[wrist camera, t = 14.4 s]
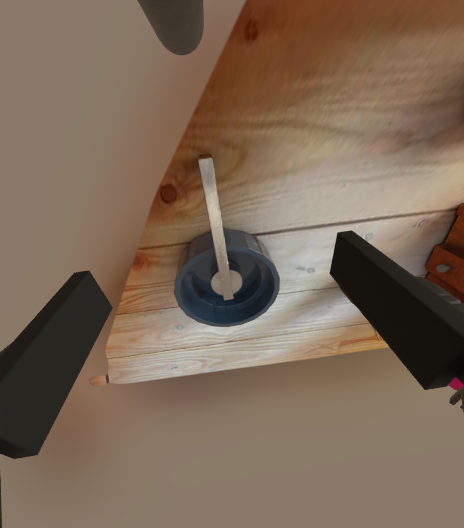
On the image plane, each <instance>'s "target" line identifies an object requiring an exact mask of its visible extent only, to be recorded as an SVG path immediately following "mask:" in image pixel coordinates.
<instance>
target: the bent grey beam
mask: <svg viewBox="0 0 464 528" xmlns="http://www.w3.org/2000/svg"><path fill="white" fill-rule="evenodd" d="M198 163H199V168H200V174H201V179H202V184H203V190H204V195H205V200H206V206H207V211H208V217H209V222H210V227H211V233H212V238H213V244H214V249H215V254H216V260H217V263H216V264H215V265H214V266H213V267H212V269H211V287H212V289H213V290H214V291H215V292H216V293H218V294H220V295H223V297H224V300H230V299H234V297H233V294H234V293H236V292H237V291H239V289H240V288H241V286H242V276H241V272H240V268H239V266H238V265H237V264H236V263H234V262H232V261H229V260H228V257H227V251H226V244H225V238H224V231H223V225H222V218H221V212H220V205H219V198H218V192H217V185H216V179H215V172H214V166H213V159H212V154H204V155H200V157H199V159H198Z"/></svg>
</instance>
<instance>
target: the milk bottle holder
mask: <svg viewBox="0 0 464 528" xmlns="http://www.w3.org/2000/svg"><path fill="white" fill-rule="evenodd" d="M456 214H458V215H459V216H458V218H457V220H456V222H455V224H454V226H453V227H452V229H451V231H450V233H449V235H448V237H447V239H446V241H445V243H444V244H443V245H437V246H436V247H435V249H434V251H433V253H432V255H431V257H430V259H429V261H428V263H427V265H426V267H425V268H426V269H427V270H429V271H430V272H429V274H428V276H427V278H426V280H429V281H431V282H433V283H435V284H437V285H439V286H440V287H441V288H443V289H444V290H446V291H447V292H449V294H450V295H453V296H454V297H456V298H457V299H459V300H460V301H461V303H464V204H462V205H460V207H459V209H458V211H457V213H456Z"/></svg>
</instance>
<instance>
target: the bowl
mask: <svg viewBox="0 0 464 528" xmlns="http://www.w3.org/2000/svg"><path fill="white" fill-rule="evenodd" d="M223 231H224V238H225V244H226V251H227V257H228V260H229V261H232V262H234V263H236V264H237V265H238V266H239V268H240V272H241V276H242V286H241V288H240V289H239V291H237V292H236V293H234V294H233V297H234V299H230V300H224V297H223V295H220V294H218V293H216V292H215V291H214V290H213V289H212V287H211V269H212V267H213V266H214V265H215V264H216V263H217V260H216V254H215V249H214V244H213V238H212V233H211V232H209V233H206V234H204V235H202V236H200V237H198V238H196V239H195V240H194V241H193V242H192V243H191V244H190V245H189V246H187V247H186V248H185V250H184V252H183V254H182V256H181V258H180V260H179V264H178V269H177V274H176V279H175V291H174V294H175V297H176V300H177V302H178V305H179V307H180V308H181V309H182V310H183V311H184V312H185V314H186V315H187V316H189V317H191V318H192V319H194V320H196V321H197V322H199V323H203V324H206V325H210V326H216V327H230V326H236V325H242V324H244V323H247V322H250V321H252V320H254V319H256V318H258V317H259V316H260V315H262V314H263V313H265V312H266V311H267V310H268V309H269V307H270V306H271V305H272V304H273V303H274V302H275V299H276V297H277V295H278V292H279V283H280V277H279V275H278V272H277V270H276V268H275V265H274V263H273V261H272V259H271V257H270V255H269V253H268V251H267V249H266V247H265V246H264V245H263V244H262V243H261V242H260V241H259V240H258V239H257V238H256V237H254V236H252V235H249V234H247V233H245V232H243V231H237V230H230V229H224V230H223Z"/></svg>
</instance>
